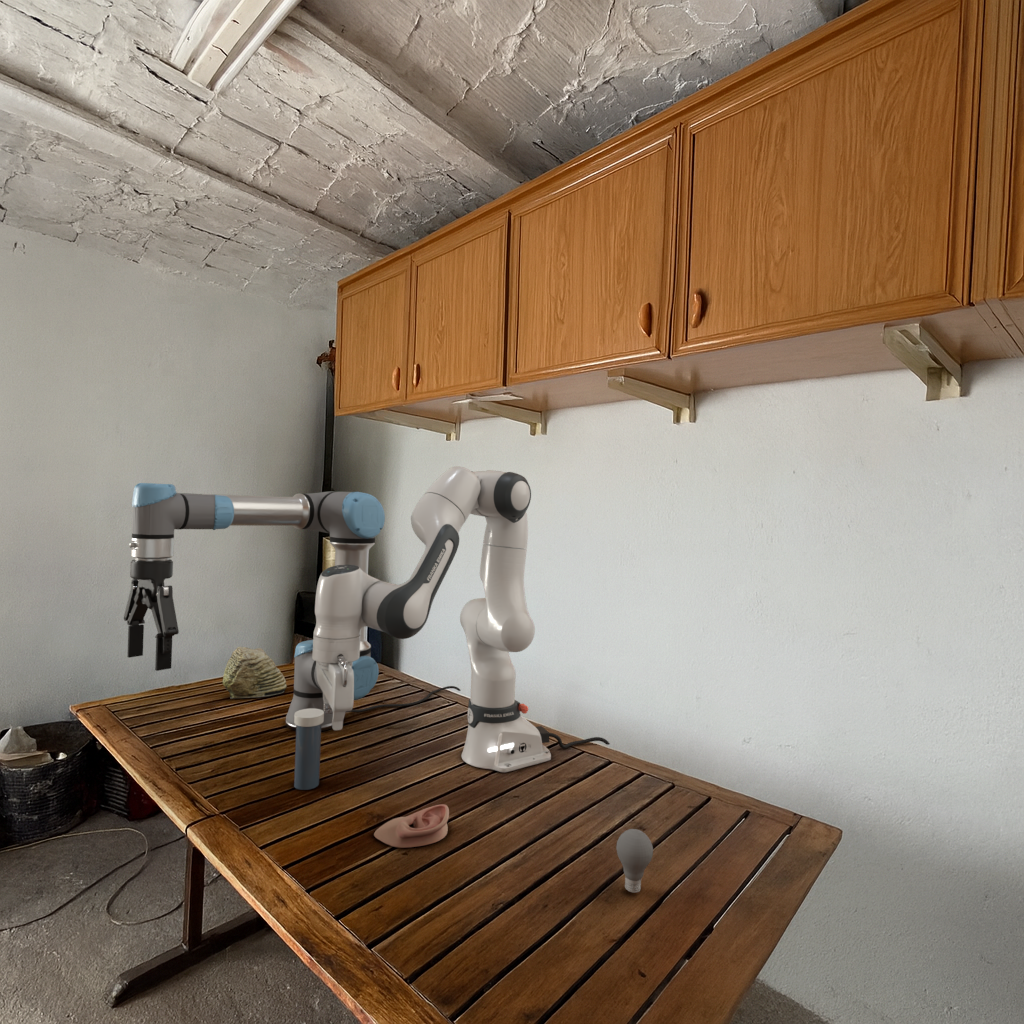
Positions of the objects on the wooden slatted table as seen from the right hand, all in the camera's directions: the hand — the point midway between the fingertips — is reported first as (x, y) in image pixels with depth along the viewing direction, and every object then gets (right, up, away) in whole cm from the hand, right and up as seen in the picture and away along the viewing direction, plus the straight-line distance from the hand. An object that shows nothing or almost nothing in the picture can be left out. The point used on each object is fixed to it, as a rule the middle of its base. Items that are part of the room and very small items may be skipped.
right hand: (332, 720), depth 122 cm
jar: (-10, -20, +17) cm, 28 cm away
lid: (-10, -4, +16) cm, 19 cm away
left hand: (-39, +10, +7) cm, 41 cm away
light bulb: (+55, -23, -17) cm, 62 cm away
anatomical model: (+16, -21, -2) cm, 26 cm away
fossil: (-46, -17, +75) cm, 90 cm away
